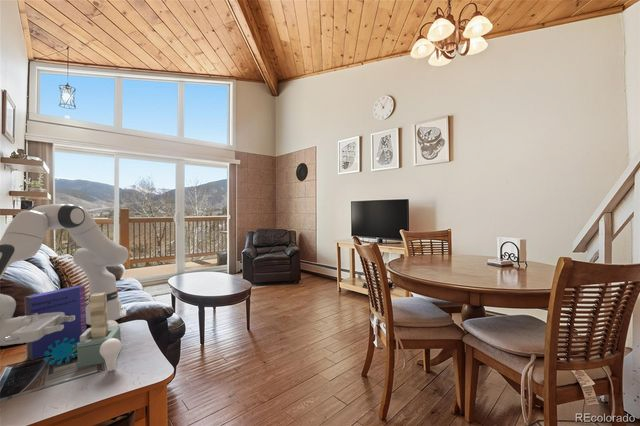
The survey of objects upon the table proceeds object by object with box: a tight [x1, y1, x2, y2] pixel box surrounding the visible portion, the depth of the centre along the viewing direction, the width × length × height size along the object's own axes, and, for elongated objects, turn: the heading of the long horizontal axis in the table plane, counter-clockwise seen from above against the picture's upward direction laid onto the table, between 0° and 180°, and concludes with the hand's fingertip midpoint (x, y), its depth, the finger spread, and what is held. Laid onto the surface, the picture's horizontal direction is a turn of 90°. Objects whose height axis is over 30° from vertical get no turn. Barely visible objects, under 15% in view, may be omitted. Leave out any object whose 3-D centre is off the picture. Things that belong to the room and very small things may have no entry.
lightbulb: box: [100, 338, 122, 372], centre depth 96 cm, size 6×6×11 cm
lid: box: [76, 326, 121, 348], centre depth 107 cm, size 12×10×3 cm
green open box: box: [76, 330, 122, 369], centre depth 107 cm, size 12×10×7 cm
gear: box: [44, 338, 79, 366], centre depth 106 cm, size 11×6×10 cm
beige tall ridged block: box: [89, 292, 108, 339], centre depth 107 cm, size 4×4×24 cm
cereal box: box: [23, 284, 88, 361], centre depth 115 cm, size 17×5×24 cm, turn 154°
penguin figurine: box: [108, 320, 119, 329], centre depth 119 cm, size 6×8×12 cm
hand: (69, 322), depth 103 cm, fingers open, 8 cm apart
